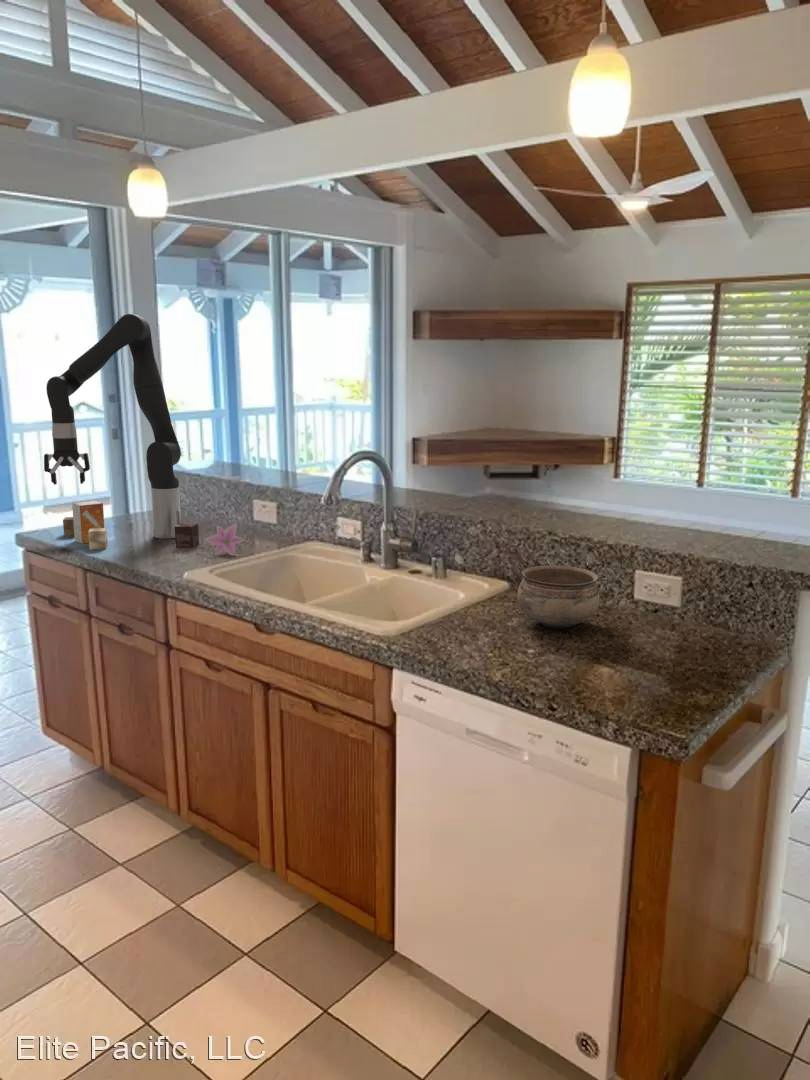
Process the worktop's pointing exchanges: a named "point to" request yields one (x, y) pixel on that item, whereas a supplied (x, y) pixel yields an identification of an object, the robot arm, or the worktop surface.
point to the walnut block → (68, 527)
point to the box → (186, 535)
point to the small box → (87, 519)
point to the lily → (225, 539)
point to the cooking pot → (558, 595)
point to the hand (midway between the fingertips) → (68, 483)
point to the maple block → (97, 538)
